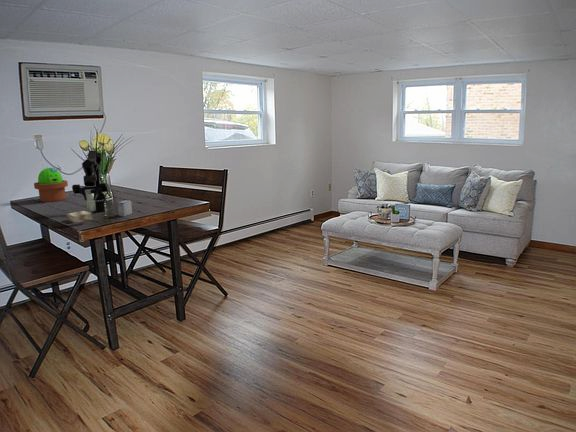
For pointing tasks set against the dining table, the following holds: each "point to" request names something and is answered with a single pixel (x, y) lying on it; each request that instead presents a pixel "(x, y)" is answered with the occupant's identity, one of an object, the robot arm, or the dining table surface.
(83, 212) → the beige shallow bowl
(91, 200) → the tea tin
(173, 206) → the dining table surface
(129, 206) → the medicine box
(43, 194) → the potted cactus
